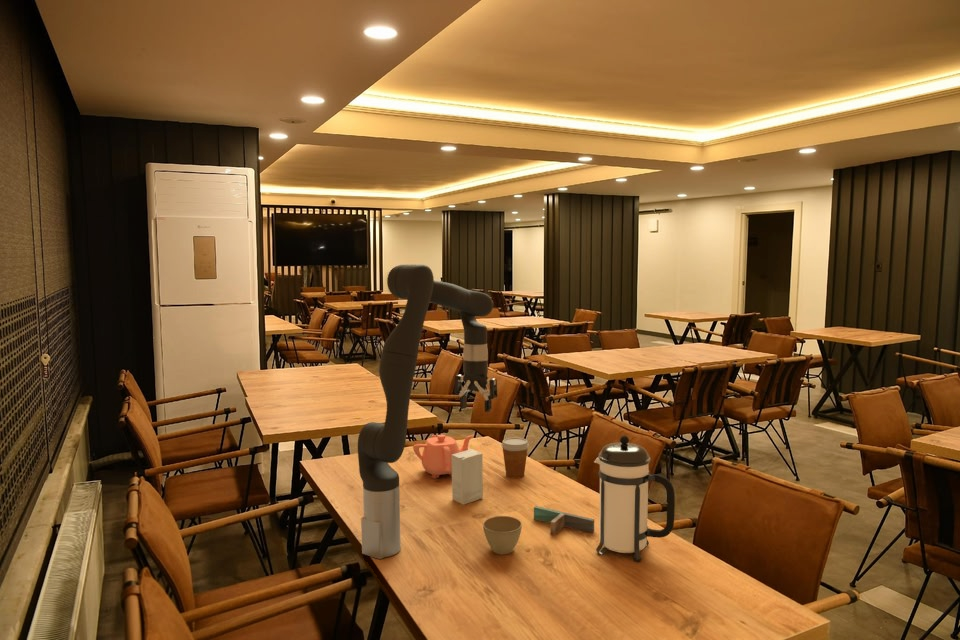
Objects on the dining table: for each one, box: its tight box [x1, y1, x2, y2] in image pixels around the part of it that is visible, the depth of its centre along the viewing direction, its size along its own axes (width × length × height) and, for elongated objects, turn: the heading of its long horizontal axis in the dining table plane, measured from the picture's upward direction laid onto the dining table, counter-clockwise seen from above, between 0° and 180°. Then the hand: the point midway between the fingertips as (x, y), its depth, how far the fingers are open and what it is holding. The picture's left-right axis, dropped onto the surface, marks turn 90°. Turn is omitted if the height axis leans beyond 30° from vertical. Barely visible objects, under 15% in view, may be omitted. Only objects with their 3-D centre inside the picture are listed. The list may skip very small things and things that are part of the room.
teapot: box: [412, 434, 475, 479], centre depth 222 cm, size 16×17×14 cm
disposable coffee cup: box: [501, 437, 530, 479], centre depth 219 cm, size 10×10×12 cm
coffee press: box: [593, 435, 676, 562], centre depth 162 cm, size 17×16×30 cm
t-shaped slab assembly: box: [533, 505, 595, 536], centre depth 176 cm, size 8×18×4 cm, turn 58°
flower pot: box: [482, 515, 523, 555], centre depth 164 cm, size 10×10×7 cm
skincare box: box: [451, 448, 484, 505], centre depth 198 cm, size 8×6×15 cm
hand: (475, 410), depth 197 cm, fingers open, 8 cm apart
